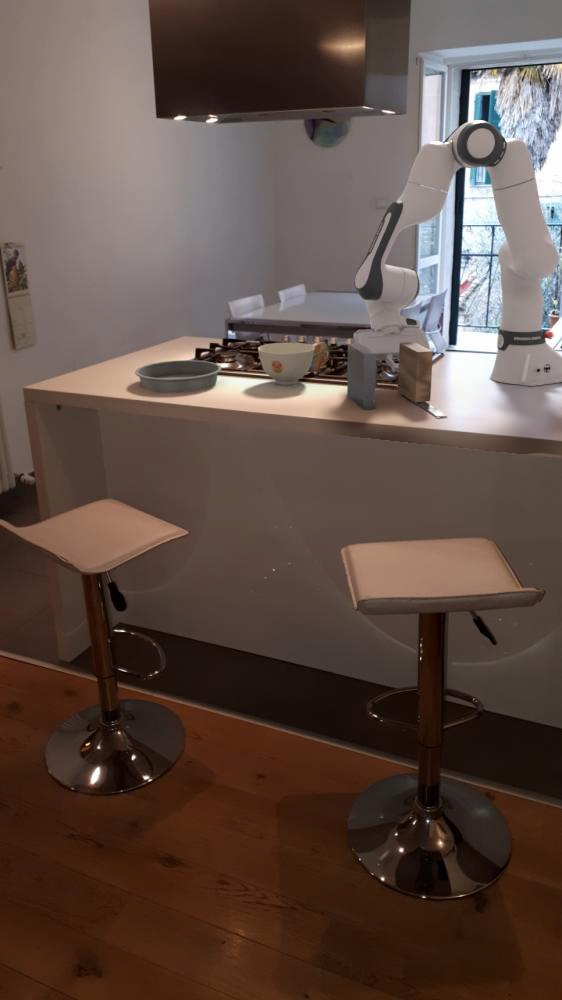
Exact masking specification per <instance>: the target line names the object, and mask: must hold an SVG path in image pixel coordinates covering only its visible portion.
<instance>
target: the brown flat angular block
mask: <svg viewBox="0 0 562 1000" xmlns="http://www.w3.org/2000/svg"><path fill="white" fill-rule="evenodd" d="M433 354H434V351H433V350H431V349H430V350H429V349H427V348H425V347H423V346H421V345H419V344H417V343H415V342H405V343H400V346H399V361H398V363H399V372H397V373H398V374H397V375H398V377H397V391H398V393H399V392H401V393H402V394H404V395H405V396H407V397H408V398H410V399H411V400H413V401H414V402H426V403H428V402H431V396H432V395H431V394H432V376H433V372H432V371H433V360H434V359H433V358H434V357H433V356H434V355H433ZM401 393H400V394H401ZM404 395H403V396H404ZM405 396H404V397H405ZM407 397H406V398H407ZM408 398H407V399H408ZM410 399H409V400H410ZM411 400H410V401H411ZM413 401H412V402H413ZM414 402H413V403H414Z"/></svg>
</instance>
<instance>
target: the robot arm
mask: <svg viewBox="0 0 562 1000" xmlns="http://www.w3.org/2000/svg"><path fill="white" fill-rule="evenodd" d="M462 168H463V169H464V168H466V169H467V168H468V169H475V168H485V170H486V171H487V174H488V176H489V178H490V184H491V188H492V189H491V190H492V194H493V200H494V206H495V211H496V215H497V219H498V220H497V221H498V223H499V224H500V226H501V228H502V230H503V232H504V233H503V234H504V236H505V238H506V239H505V241H503V242H502V244H501V245H500V247H499V250H498V253H497V254H498V262H499V266H500V284H501V297H502V298H501V299H502V300H501V314H500V326H499V328H498V331H497V332H498V333H497V334H498V335H497V339H496V340H497V343H496V345H497V347H496V348H497V352H496V356H495V360H494V365H493V368H492V371H491V374H490V377H489V378H490V379H491V380H492V381H496V382H499V383H503V384H511V385H512V384H513V385H521V386H528V387H535V386H542V385H551V384H556V383H557V384H559V383H562V354H560V353H559V352H557V351H556V350H555V349H554V348H553V347H552V346H550V345H549V344H548V343H547V340H546V339H548V340H552V339H553V338H554V337H555V334H554V332H553V331H549V330H547V331H546V330H544V329H542V326H543V325H542V324H543V315H544V305H545V298H544V295H543V292H542V285H541V284H542V283H541V280H542V279H545V278H549V276H551V275H552V274H554V272H555V271H556V269H557V267H558V266H559V265H558V264H559V257H560V256H559V252H558V249H557V248H556V246H555V244H554V243H553V238H552V236H551V233H550V230H549V228H548V224H547V222H546V220H545V216H544V213H543V210H542V206H541V201H540V195H539V190H538V185H537V179H536V175H535V168H534V164H533V161H532V157H531V154H530V152H529V149H528V147H527V144H526V142H525V141H523V140H522V139H520V138H518V137H510V138H509V137H508V138H505V137H504V136H503V135H502V133H501V132H500V131H499V130H498V129H497V128H496V127H495V126H494V125H493V124H492V123H491V122H489V121H486V120H483V119H482V120H479V119H477V120H470V121H467V122H465V123H463V124H461V125H460V126H458V127H457V128H455V130H453V131H452V132H451V133H450V135H448V137H447V138H446V139H445V140H444V141H439V140H438V141H437V140H435V141H429V142H427V143H425V144H423V145H422V146H421V147H420V149H419V151H418V153H417V155H416V157H415V159H414V162H413V165H412V167H411V170H410V173H409V175H408V179H407V183H406V186H405V188H404V189H403V192H402V193H401V195H400V196H399V197H398V198H397V200H395V201H393V202H392V203H390V204H389V206H388V208H387V209H386V210H385V212H384V215H383V217H382V219H381V221H380V224H379V225H378V228H377V230H376V232H375V234H374V237H373V239H372V241H371V244H370V246H369V249H368V250H367V253H366V255H365V257H364V259H363V261H362V263H361V264H360V266H359V267H358V269H357V271H356V274H355V276H354V288H355V290H356V292H357V294H358V295H359V296H360V298H362V299H363V300H364V303H365V306H366V310H367V311H366V312H367V314H368V315H369V324H370V328H366V329H358V330H356V331H355V332H354V333H353V340H354V342H355V343H359V344H361V345H363V346H364V347H366V348H368V349H370V350H371V351H373V352H375V353H376V361H383V360H385V363H386V364H387V365H388V366H389V367H390V368H391V372H393V373H395V372H396V373H398V372H399V346H400V343H405V342H415V343H417V344H419V345H421V346H423V347H425V348H427V349H429V350H431V347H430V343H429V339H428V337H427V335H426V332H425V331H424V330H423V329H422V328H421V325H422V324H421V321H420V319H415V318H411V317H409V316H408V317H407V316H404V315H403V314H402V315H401V310H404V309H405V308H407V307H408V306H410V304H411V303H413V302H414V301H415V300H416V299H417V297H418V296H419V294H420V289H421V287H420V286H421V285H420V284H421V283H420V279H419V276H418V274H417V272H416V271H415V270H413V269H410V268H405V267H401V266H394V265H391V264H386V261H387V258H388V256H389V254H390V251H391V249H392V248H393V245H394V243H395V241H396V238H397V236H398V235H399V233H401V232H402V230H404V229H407V228H409V227H411V226H415V225H422V224H424V223H428V222H430V221H432V220H433V219H435V218H436V217H438V215H440V213H441V212H442V210H443V208H444V206H445V203H446V202H447V201H446V200H447V198H448V194H449V190H450V187H451V183H452V180H453V178H454V176H455V174H456V173H457V171H459V170H460V169H462ZM394 360H397V361H398V363H396V362H395V361H394Z"/></svg>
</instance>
